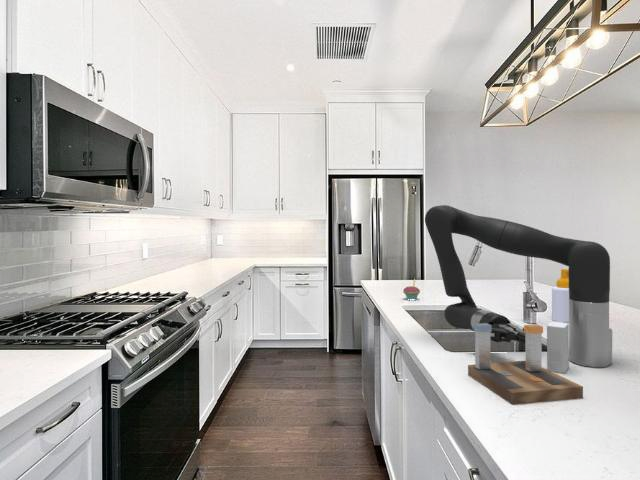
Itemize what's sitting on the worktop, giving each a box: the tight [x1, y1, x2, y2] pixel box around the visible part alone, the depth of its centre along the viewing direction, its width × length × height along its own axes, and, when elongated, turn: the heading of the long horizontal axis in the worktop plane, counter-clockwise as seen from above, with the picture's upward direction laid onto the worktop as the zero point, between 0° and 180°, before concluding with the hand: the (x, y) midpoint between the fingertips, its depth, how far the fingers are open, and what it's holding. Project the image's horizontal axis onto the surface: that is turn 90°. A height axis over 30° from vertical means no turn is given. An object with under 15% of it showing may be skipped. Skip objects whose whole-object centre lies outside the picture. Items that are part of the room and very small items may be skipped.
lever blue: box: [473, 323, 492, 370], centre depth 101 cm, size 3×2×11 cm, turn 99°
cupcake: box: [402, 278, 421, 300], centre depth 213 cm, size 9×8×12 cm
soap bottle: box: [551, 268, 569, 324], centre depth 162 cm, size 13×8×20 cm, turn 129°
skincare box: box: [546, 320, 570, 374], centre depth 107 cm, size 6×4×12 cm
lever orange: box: [523, 324, 544, 372], centre depth 99 cm, size 3×2×11 cm, turn 99°
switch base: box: [467, 360, 584, 405], centre depth 96 cm, size 17×18×3 cm
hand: (530, 341), depth 99 cm, fingers closed
